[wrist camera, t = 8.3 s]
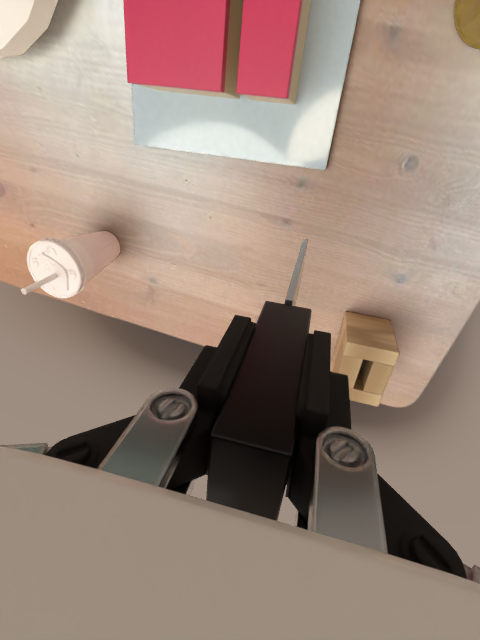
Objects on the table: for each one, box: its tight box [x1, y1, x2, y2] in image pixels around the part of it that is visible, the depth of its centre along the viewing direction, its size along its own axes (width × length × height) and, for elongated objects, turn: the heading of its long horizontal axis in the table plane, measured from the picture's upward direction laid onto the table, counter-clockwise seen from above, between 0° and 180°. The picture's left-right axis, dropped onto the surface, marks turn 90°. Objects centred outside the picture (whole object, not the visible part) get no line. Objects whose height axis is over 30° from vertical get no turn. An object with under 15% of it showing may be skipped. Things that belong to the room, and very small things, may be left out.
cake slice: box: [236, 0, 311, 105], centre depth 26 cm, size 4×12×6 cm, turn 174°
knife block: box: [331, 311, 399, 406], centre depth 38 cm, size 5×7×7 cm
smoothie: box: [21, 231, 120, 298], centre depth 38 cm, size 6×6×14 cm
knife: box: [206, 239, 311, 521], centre depth 15 cm, size 2×3×16 cm, turn 175°
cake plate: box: [132, 0, 361, 170], centre depth 29 cm, size 20×22×1 cm
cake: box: [124, 0, 243, 99], centre depth 27 cm, size 8×12×6 cm, turn 174°
